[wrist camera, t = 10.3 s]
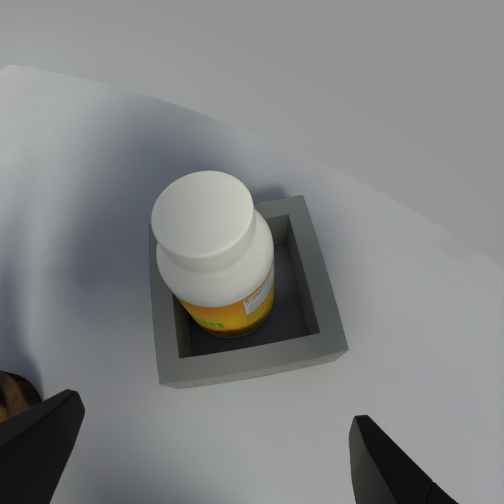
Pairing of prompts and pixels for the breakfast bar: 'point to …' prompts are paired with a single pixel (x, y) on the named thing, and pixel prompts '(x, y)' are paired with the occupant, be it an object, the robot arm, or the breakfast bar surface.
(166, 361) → the grey square frame
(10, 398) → the brown chess piece
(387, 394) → the breakfast bar surface
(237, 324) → the supplement bottle
